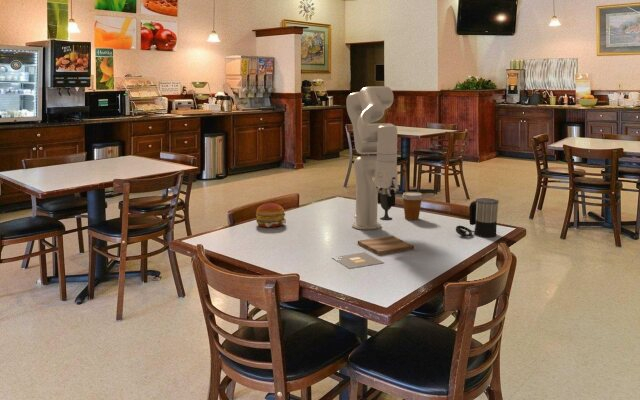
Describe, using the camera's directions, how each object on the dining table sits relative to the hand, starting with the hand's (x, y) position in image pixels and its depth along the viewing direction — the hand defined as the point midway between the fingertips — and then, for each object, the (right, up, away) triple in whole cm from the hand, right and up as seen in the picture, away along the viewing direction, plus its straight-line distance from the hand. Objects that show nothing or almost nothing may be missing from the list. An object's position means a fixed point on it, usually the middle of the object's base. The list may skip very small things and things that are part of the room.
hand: (386, 204), depth 221 cm
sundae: (0, -6, +1) cm, 6 cm away
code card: (-12, -20, -13) cm, 27 cm away
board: (0, -17, +4) cm, 17 cm away
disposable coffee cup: (+17, -7, +48) cm, 52 cm away
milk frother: (+40, -13, +19) cm, 46 cm away
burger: (-48, -10, +39) cm, 62 cm away
